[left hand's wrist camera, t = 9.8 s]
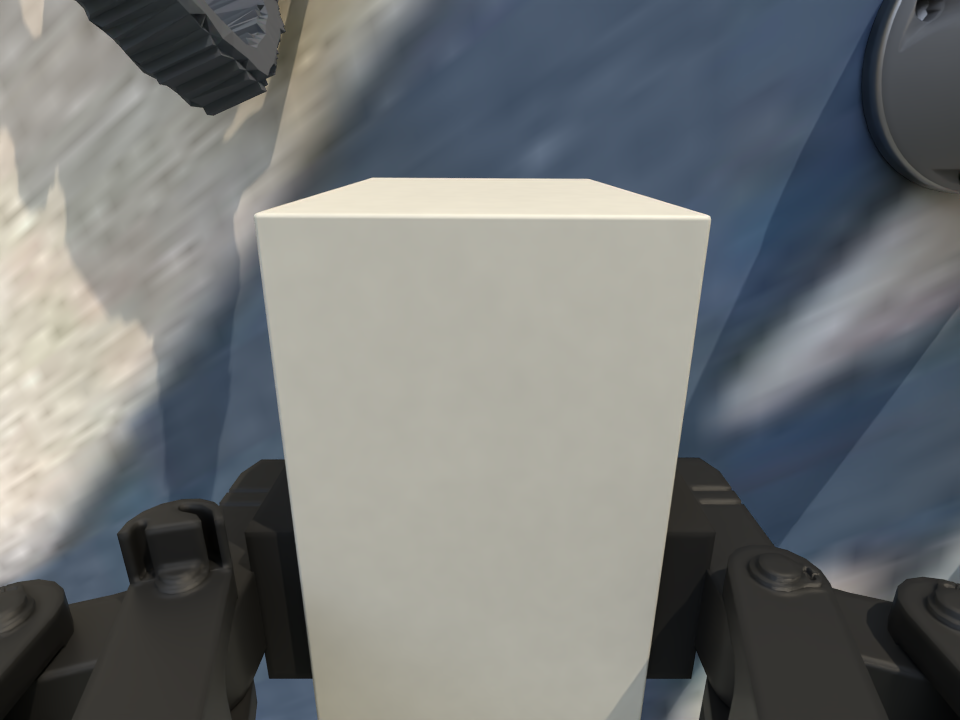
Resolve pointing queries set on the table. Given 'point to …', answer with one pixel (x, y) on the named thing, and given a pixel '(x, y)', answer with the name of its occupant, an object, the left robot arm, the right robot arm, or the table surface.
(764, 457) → the table surface
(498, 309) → the bar
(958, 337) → the table surface
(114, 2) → the toy
